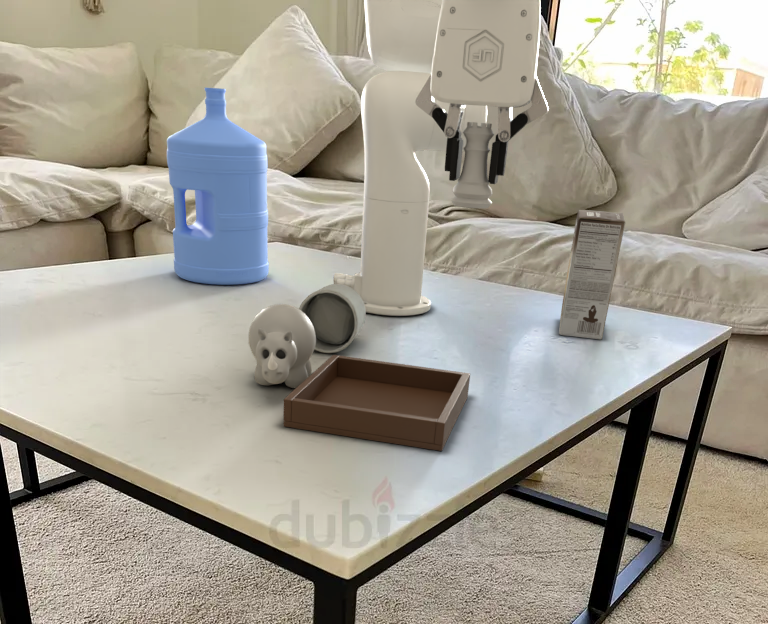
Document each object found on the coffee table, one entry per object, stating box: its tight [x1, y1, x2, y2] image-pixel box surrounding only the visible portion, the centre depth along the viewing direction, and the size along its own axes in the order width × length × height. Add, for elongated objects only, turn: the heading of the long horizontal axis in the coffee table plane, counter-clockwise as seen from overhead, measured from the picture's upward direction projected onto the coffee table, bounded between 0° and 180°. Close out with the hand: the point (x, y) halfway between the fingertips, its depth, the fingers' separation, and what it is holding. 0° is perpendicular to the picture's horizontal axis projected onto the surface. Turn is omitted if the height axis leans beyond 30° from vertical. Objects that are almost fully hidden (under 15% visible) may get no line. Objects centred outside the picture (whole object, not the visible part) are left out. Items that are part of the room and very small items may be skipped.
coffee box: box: [558, 209, 626, 340], centre depth 111 cm, size 9×6×16 cm
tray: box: [283, 354, 471, 452], centre depth 80 cm, size 16×16×3 cm
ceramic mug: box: [298, 283, 367, 354], centre depth 99 cm, size 11×8×8 cm
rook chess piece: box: [450, 122, 495, 209], centre depth 82 cm, size 4×4×8 cm
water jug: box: [166, 87, 270, 286], centre depth 125 cm, size 16×16×28 cm
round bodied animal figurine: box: [247, 303, 316, 389], centre depth 82 cm, size 7×12×8 cm, turn 177°
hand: (473, 179), depth 82 cm, fingers closed on rook chess piece, 3 cm apart
